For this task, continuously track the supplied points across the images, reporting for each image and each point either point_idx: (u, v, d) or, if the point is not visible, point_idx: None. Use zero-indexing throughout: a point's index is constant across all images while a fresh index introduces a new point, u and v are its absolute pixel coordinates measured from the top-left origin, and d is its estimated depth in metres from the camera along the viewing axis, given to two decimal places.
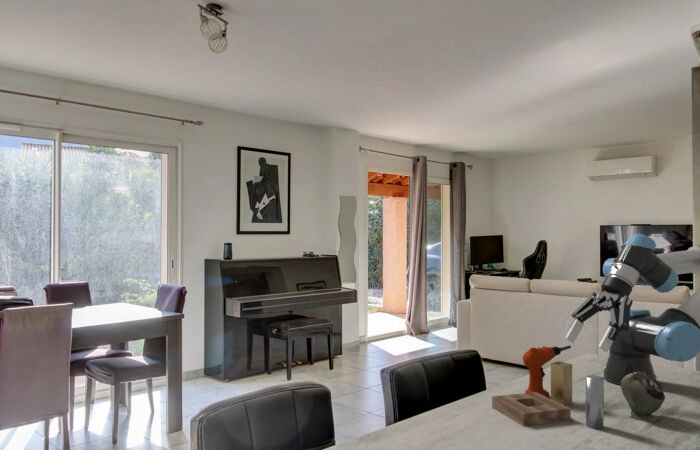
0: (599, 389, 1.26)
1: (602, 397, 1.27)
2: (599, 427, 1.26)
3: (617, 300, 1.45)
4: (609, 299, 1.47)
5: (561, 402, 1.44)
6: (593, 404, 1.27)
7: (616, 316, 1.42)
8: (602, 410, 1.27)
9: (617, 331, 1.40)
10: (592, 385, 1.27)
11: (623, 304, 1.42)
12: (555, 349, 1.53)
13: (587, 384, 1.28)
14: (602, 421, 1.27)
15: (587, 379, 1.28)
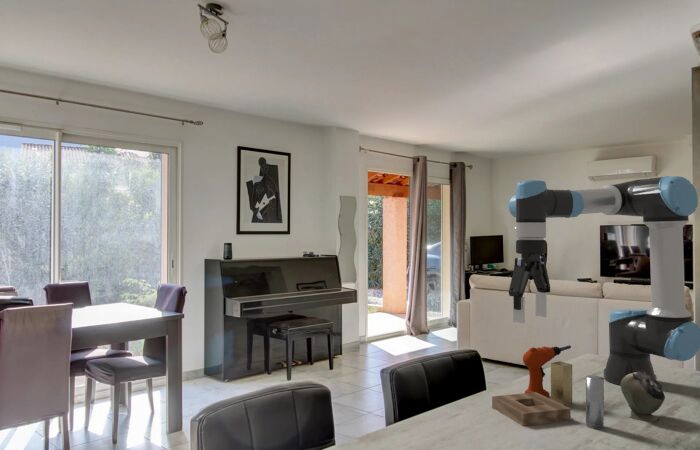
0: (599, 389, 1.26)
1: (602, 397, 1.27)
2: (599, 427, 1.26)
3: None
4: None
5: (561, 402, 1.44)
6: (593, 404, 1.27)
7: None
8: (602, 410, 1.27)
9: (516, 299, 1.31)
10: (592, 385, 1.27)
11: None
12: (555, 349, 1.53)
13: (587, 384, 1.28)
14: (602, 421, 1.27)
15: (587, 379, 1.28)
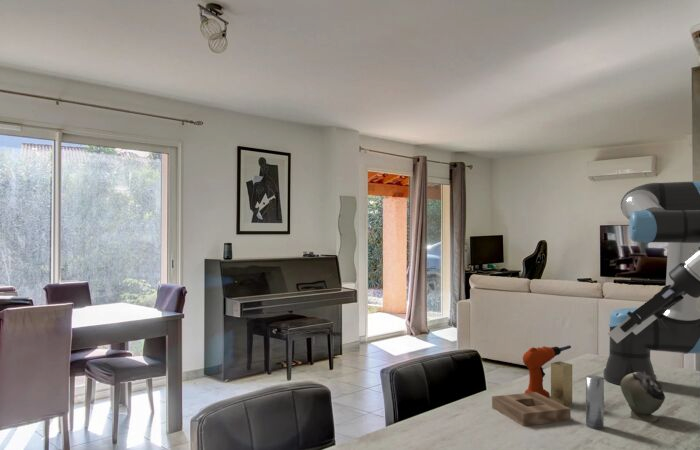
0: (599, 389, 1.26)
1: (602, 397, 1.27)
2: (599, 427, 1.26)
3: None
4: (661, 289, 1.15)
5: (561, 402, 1.44)
6: (593, 404, 1.27)
7: None
8: (602, 410, 1.27)
9: (631, 322, 1.14)
10: (592, 385, 1.27)
11: (655, 295, 1.12)
12: (555, 349, 1.53)
13: (587, 384, 1.28)
14: (602, 421, 1.27)
15: (587, 379, 1.28)
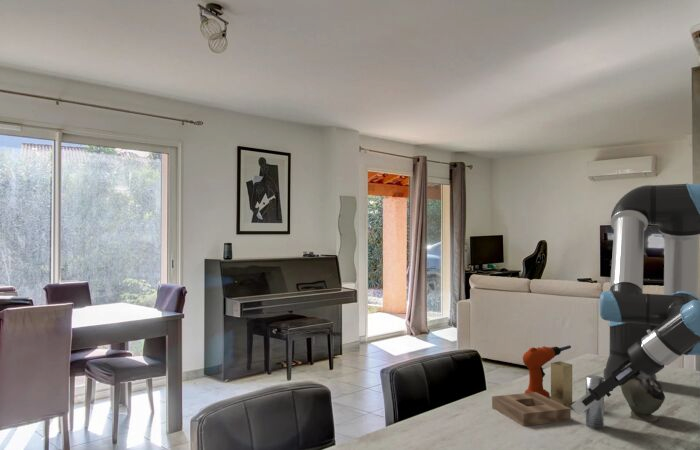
0: None
1: (602, 397, 1.27)
2: (599, 427, 1.26)
3: (623, 369, 1.21)
4: (620, 365, 1.23)
5: (561, 402, 1.44)
6: (593, 404, 1.27)
7: None
8: (602, 410, 1.27)
9: (591, 398, 1.25)
10: (592, 385, 1.27)
11: (610, 376, 1.21)
12: (555, 349, 1.53)
13: (587, 384, 1.28)
14: (602, 421, 1.27)
15: (587, 379, 1.28)
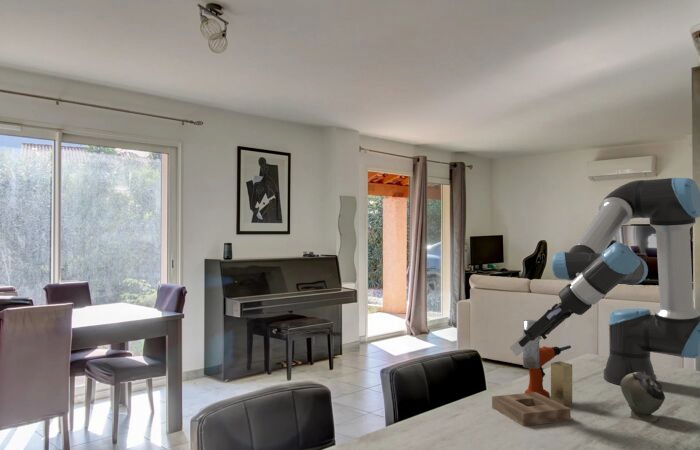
0: None
1: (537, 339, 1.35)
2: (534, 366, 1.35)
3: (554, 310, 1.30)
4: None
5: (561, 402, 1.44)
6: (529, 346, 1.35)
7: None
8: (537, 351, 1.35)
9: (526, 339, 1.34)
10: (528, 327, 1.35)
11: (542, 316, 1.29)
12: (555, 349, 1.53)
13: (524, 327, 1.37)
14: (537, 361, 1.35)
15: (524, 322, 1.37)
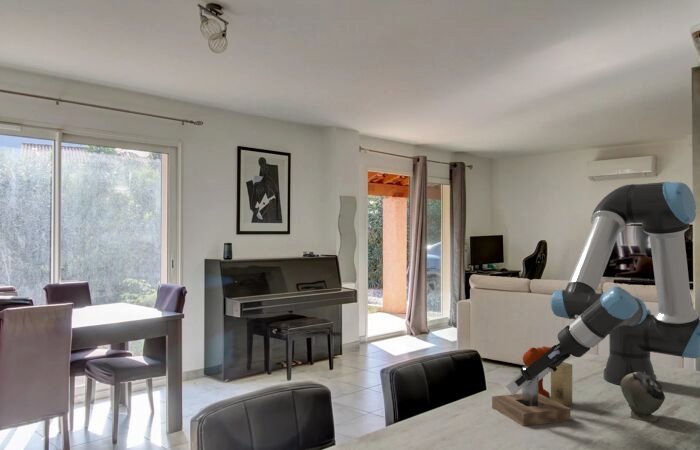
0: (533, 379, 1.35)
1: (536, 386, 1.35)
2: None
3: None
4: (551, 348, 1.31)
5: (561, 402, 1.44)
6: (528, 393, 1.35)
7: None
8: (536, 398, 1.35)
9: (523, 378, 1.30)
10: None
11: (543, 355, 1.28)
12: None
13: None
14: None
15: (523, 369, 1.37)
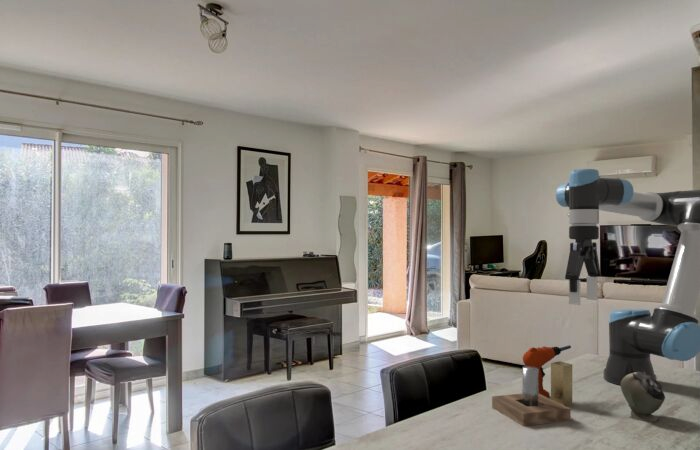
0: (533, 379, 1.35)
1: (536, 386, 1.35)
2: None
3: None
4: None
5: (561, 402, 1.44)
6: (528, 393, 1.35)
7: None
8: (536, 398, 1.35)
9: (572, 282, 1.37)
10: (528, 375, 1.35)
11: (570, 253, 1.39)
12: (555, 349, 1.53)
13: (523, 374, 1.37)
14: None
15: (523, 369, 1.37)
